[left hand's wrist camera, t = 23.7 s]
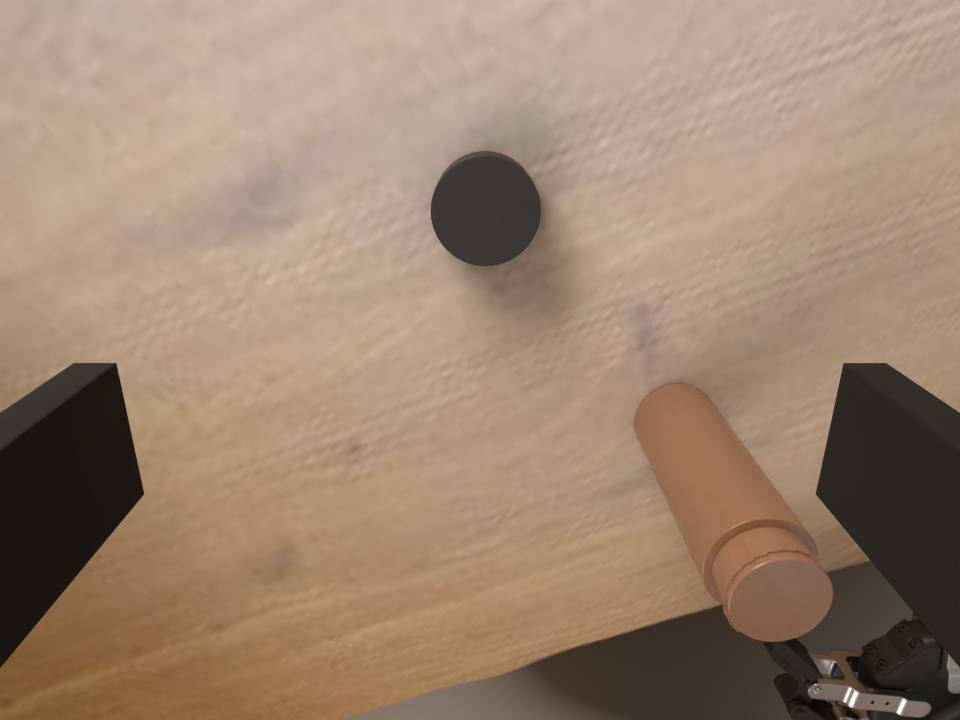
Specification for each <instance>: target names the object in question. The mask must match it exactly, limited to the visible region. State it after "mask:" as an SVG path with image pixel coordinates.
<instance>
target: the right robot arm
mask: <svg viewBox="0 0 960 720" xmlns="http://www.w3.org/2000/svg"><path fill="white" fill-rule="evenodd" d="M763 642H764V644H765V646H766V648H767V650H768V652H769V654H770V656H771V658H772V660H773V661H774V662H775V663H777V664H778V665H779V666H780V667H781V668H782V669H784V670H785V671H786V672H787V674H786V673H785V674H780V675H778V676H777V677H776V678H775V679H774V684H775V686H776V688H777V690H778V691H779V693H780V695H781V697H782V699H783V701H784V703H785V705H786V707H787V711H788V713H789V715H790V717H791V718H792V719H793V720H960V668H959V666H958V665H957V664H956V663H955V661H954V660H953V659H952V658H951V657H950V655H949V654H948V653H947V652H946V651H945V649H944V648H943V647H942V646H941V645H940V643H939V642H938V641H937V640H936V639H935V637H934V636H933V635H932V634H931V633H930V631H929V630H928V629H927V628H926V626H925V625H924V624H923V623H922V622H921V620H920V619H919V618H918V617H917V616H916V614H915V613H914V612H913V619H912V620H911V621H907V620H906V619H904V620H902V621H901V622H899V623H898V624H896V625H895V626H894V627H893V628H892V629H891V630H890V631H889V632H888V633H887V634H886V635H884V636H882V637H880V638H877V639H875V640H873V641H871V642H869V643H868V644H866V645H865V646H863V647H862V649H863V651H852V650H840V649H832V650H830V653H829V654H818V653H808V651H807V649H806V648H805V647H804V646H803V645H802V644H801V643H800V642H799V641H798V640H797V639H795V638H793V639H790V640H785V641H778V642H767V641H763ZM854 672H858V678H857V676H856V675H855V673H854ZM822 675H828V676H829V677H831V678H832V679H828V678H823V676H822ZM825 700H831V701H830V702H829V703H828V702H827V701H825ZM837 701H842V702H844V703H846V704H847V705H848V706H849V707H851V708H848V707H845V706H843V705H838V703H837Z"/></svg>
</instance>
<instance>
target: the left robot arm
mask: <svg viewBox="0 0 960 720" xmlns="http://www.w3.org/2000/svg"><path fill="white" fill-rule="evenodd" d="M143 495H144V491H143V486H142V482H141V477H140V472H139V468H138V463H137V458H136V454H135V449H134V444H133V439H132V435H131V430H130V425H129V421H128V416H127V411H126V407H125V402H124V397H123V393H122V388H121V383H120V378H119V374H118V369H117V364H116V363H73V364H72V365H70V366H69V367H68V368H66V369H65V370H63V371H62V372H60V373H59V374H57V375H56V376H54V377H53V378H51V379H50V380H48V381H47V382H45V383H44V384H42V385H41V386H39V387H38V388H36V389H35V390H34V391H32V392H31V393H29V394H28V395H26V396H25V397H23V398H22V399H20V400H19V401H17V402H16V403H14V404H13V405H11V406H10V407H8V408H7V409H5V410H4V411H2V412H1V413H0V668H1V666H2V665H3V664H4V663H5V661H6V660H7V659H8V658H9V657H10V655H11V654H12V653H13V652H14V651H15V649H16V648H17V647H18V646H19V645H20V643H21V642H22V641H23V640H24V639H25V637H26V636H27V635H28V634H29V633H30V631H31V630H32V629H33V628H34V626H35V625H36V624H37V623H38V622H39V620H40V619H41V618H42V617H43V616H44V614H45V613H46V612H47V611H48V610H49V608H50V607H51V606H52V605H53V604H54V602H55V601H56V600H57V599H58V597H59V596H60V595H61V594H62V593H63V591H64V590H65V589H66V588H67V587H68V585H69V584H70V583H71V582H72V581H73V579H74V578H75V577H76V576H77V575H78V573H79V572H80V571H81V570H82V569H83V567H84V566H85V565H86V564H87V562H88V561H89V560H90V559H91V558H92V556H93V555H94V554H95V553H96V552H97V550H98V549H99V548H100V547H101V546H102V544H103V543H104V542H105V541H106V540H107V538H108V537H109V536H110V535H111V533H112V532H113V531H114V530H115V529H116V527H117V526H118V525H119V524H120V523H121V521H122V520H123V519H124V518H125V517H126V515H127V514H128V513H129V512H130V511H131V509H132V508H133V507H134V506H135V505H136V503H137V502H138V501H139V500H140V498H141V497H142V496H143ZM816 495H817V496H818V497H819V498H820V500H821V501H822V502H823V503H824V505H825V506H826V507H827V508H828V509H829V511H830V512H831V513H832V514H833V515H834V517H835V518H836V519H837V520H838V521H839V523H840V524H841V525H842V526H843V527H844V529H845V530H846V531H847V532H848V533H849V535H850V536H851V537H852V538H853V540H854V541H855V542H856V543H857V544H858V546H859V547H860V548H861V549H862V550H863V552H864V553H865V554H866V555H867V556H868V558H869V559H870V560H871V561H872V562H873V564H874V565H875V566H876V567H877V569H878V570H879V571H880V572H881V573H882V574H883V576H884V577H885V578H886V579H887V581H888V582H889V583H890V584H891V585H892V587H893V588H894V589H895V590H896V591H897V593H898V594H899V595H900V596H901V597H902V599H903V600H904V601H905V602H906V603H907V605H908V606H909V607H910V608H911V610H912V611H913V612H914V613H915V614H916V616H917V617H918V618H919V619H920V620H921V622H922V623H923V624H924V625H925V626H926V628H927V629H928V630H929V631H930V633H931V634H932V635H933V636H934V637H935V639H936V640H937V641H938V642H939V643H940V645H941V646H942V647H943V648H944V649H945V651H946V652H947V653H948V654H949V655H950V657H951V658H952V659H953V660H954V661H955V663H956V664H957V665H958V666H959V668H960V413H959V412H958V411H956V410H955V409H953V408H952V407H950V406H949V405H947V404H946V403H944V402H943V401H941V400H940V399H938V398H937V397H935V396H934V395H932V394H931V393H929V392H928V391H926V390H925V389H924V388H922V387H921V386H919V385H918V384H916V383H915V382H913V381H912V380H910V379H909V378H907V377H906V376H904V375H903V374H901V373H900V372H898V371H897V370H895V369H894V368H892V367H891V366H890V365H888V364H887V363H844V364H843V369H842V374H841V378H840V383H839V388H838V393H837V397H836V402H835V407H834V411H833V416H832V421H831V425H830V430H829V435H828V439H827V444H826V449H825V454H824V458H823V463H822V468H821V472H820V477H819V482H818V486H817V491H816Z"/></svg>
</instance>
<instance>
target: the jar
mask: <svg viewBox="0 0 960 720" xmlns="http://www.w3.org/2000/svg"><path fill="white" fill-rule="evenodd" d="M634 424H635V431H636V434H637V437H638V439H639V441H640V443H641V446H642V448H643V450H644V452H645V454H646V457H647V459H648V461H649V463H650V465H651V468H652V470H653V472H654V474H655V476H656V479H657V481H658V483H659V485H660V488H661V490H662V492H663V494H664V496H665V499H666V501H667V503H668V505H669V507H670V510H671V512H672V514H673V516H674V518H675V521H676V523H677V525H678V527H679V530H680V532H681V534H682V536H683V538H684V541H685V543H686V545H687V547H688V549H689V552H690V554H691V556H692V558H693V560H694V563H695V565H696V567H697V569H698V572H699V574H700V576H701V578H702V580H703V583H704V585H705V587H706V589H707V590H708V592H709V593H710V594H711V596H712V597H713V598H714V599H716V600H717V601H718V602H720V603H721V604H723V610H724V613H725V615H726V617H727V619H728V621H729V623H730V625H731V626H732V627H733V628H734V629H735V630H736V631H737V632H739V631H741V632H742V633H743V634H745V635H746V636H749V637H751V638H753V639H756V640H761V641H767V642H778V641H785V640H790V639H793V638H796V637H799V636H801V635H803V634H805V633H807V632H809V631H810V630H812V629H813V628H815V627H816V626H817V625H818V624H819V623H820V622H821V621H822V620H823V619H824V618H825V616H826V615H827V613H828V611H829V610H830V607H831V605H832V601H833V586H832V582H831V580H830V578H829V576H828V575H827V573H826V572H825V571H824V569H823V568H822V566H821V565H820V564H819V562H818V560H819V559H818V551H817V547H816V544H815V542H814V540H813V538H812V537H811V535H810V534H809V533H808V531H807V530H806V529H805V527H804V526H803V525H802V523H801V522H800V520H799V519H798V518H797V516H796V515H795V514H794V512H793V511H792V510H791V508H790V507H789V506H788V504H787V503H786V502H785V500H784V499H783V498H782V496H781V495H780V493H779V492H778V491H777V489H776V488H775V487H774V485H773V484H772V483H771V481H770V480H769V479H768V477H767V476H766V475H765V473H764V472H763V470H762V469H761V468H760V466H759V465H758V464H757V462H756V461H755V460H754V458H753V457H752V456H751V454H750V453H749V452H748V450H747V449H746V447H745V446H744V445H743V443H742V442H741V441H740V439H739V438H738V437H737V435H736V434H735V433H734V431H733V430H732V429H731V427H730V426H729V424H728V423H727V422H726V420H725V419H724V418H723V416H722V415H721V414H720V412H719V411H718V410H717V408H716V407H715V406H714V404H713V403H712V402H711V400H710V399H709V397H708V396H707V395H706V394H705V393H704V392H703V391H701V390H700V389H698V388H696V387H694V386H691V385H687V384H670V385H666V386H663V387H660V388H658V389H656V390H654V391H653V392H651V393H650V394H649V395H648V396H647V397H646V398H645V399H644V400H643V401H642V402H641V404H640V405H639V407H638V409H637V412H636V415H635V422H634Z"/></svg>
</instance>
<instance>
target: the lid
mask: <svg viewBox="0 0 960 720" xmlns="http://www.w3.org/2000/svg"><path fill="white" fill-rule="evenodd" d="M431 219H432V224H433V228H434V230H435V233H436V235H437V237H438V239H439V240H440V242H441V243H442V245H443V246H444V247H445V248H446V249H447V250H448V251H449V252H450V253H451V254H452V255H454V256H455V257H457V258H458V259H460V260H462V261H464V262H467V263H470V264H473V265H479V266H492V265H498V264H501V263H504V262H507V261H509V260H511V259H513V258H514V257H516V256H518V255H519V254H520V253H521V252H522V251H523V250H524V249H525V248H526V247H527V246H528V245H529V243H530V242H531V241H532V239H533V237H534V235H535V233H536V231H537V228H538V225H539V221H540V201H539V196H538V193H537V190H536V188H535V185H534V184H533V182H532V180H531V178H530V177H529V175H528V173H527V172H526V171H525V170H524V168H523V167H522V166H521V165H520V164H519V163H517V162H516V161H515V160H513V159H511V158H510V157H508V156H506V155H503V154H500V153H496V152H489V151H482V152H475V153H471V154H468V155H465V156H463V157H461V158H459V159H458V160H456V161H455V162H454V163H452V164H451V165H450V166H449V167H448V168H447V169H446V171H445V172H444V173H443V175H442V176H441V178H440V180H439V182H438V184H437V186H436V188H435V191H434V194H433V197H432V203H431Z"/></svg>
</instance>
